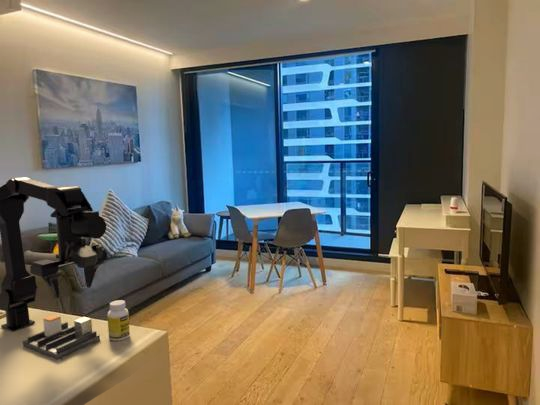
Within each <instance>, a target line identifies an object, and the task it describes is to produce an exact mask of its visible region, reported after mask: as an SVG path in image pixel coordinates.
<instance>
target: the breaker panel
mask: <svg viewBox="0 0 540 405" xmlns="http://www.w3.org/2000/svg"><path fill="white" fill-rule="evenodd" d="M73 324H74V325H73V326H72V325H69V323H68V321H65V322H63V323H62V322H61V326H62V331H60V332H58V333H55V334H53V335H51V336H48V337H47V336H45V332H44V330H43V331H40V332H37V333H35V334H32V335H30V336H28V337H27V339H25V340H22V348H26V349H27V350H30V351H32V352H36V353H38V354H41V355H43V356H45V357H49V358H51V359H52V360H53V359H54V360H55V361H60V360H62V359H64V358H66V357H68V356H70V355H72V354H74V353H76V352H79V351H81V350H84V349H86V348H88V347H89V346H91V345H93V344H96V343H98V342H99V341H101V338H100V334H97V331H96V330H94V331H93V324H92V318H90V317H86V316H83V317H80V318H77V319H75V320H74V321H73Z"/></svg>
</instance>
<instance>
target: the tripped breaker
mask: <svg viewBox="0 0 540 405" xmlns="http://www.w3.org/2000/svg"><path fill="white" fill-rule="evenodd" d="M42 320H43V329H44V330H43V331H44V332H45V336H47V337H48V336H51V335H53V334H55V333H58V332H60V331H62V326H61V324H62V317H61V316H60V315H56V314H50V315H48V316H46V317H44V318H42Z"/></svg>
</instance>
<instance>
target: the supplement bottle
mask: <svg viewBox="0 0 540 405" xmlns="http://www.w3.org/2000/svg"><path fill="white" fill-rule="evenodd" d="M126 306H127V305H126V301H125V300H123V299H119V300H114V301H111V302H109V311H108V312H107V330H108V331H107V334H108V339H109V340H110V341H116V342H117V341H123V340H126V339H127V338H129V337H130V335H131V333H130V332H131V331H130V314H129V310H128V308H126Z"/></svg>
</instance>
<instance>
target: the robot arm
mask: <svg viewBox="0 0 540 405" xmlns="http://www.w3.org/2000/svg"><path fill="white" fill-rule="evenodd" d="M29 198H34V199H37V200H41V201H44V202H46V205H47V206H48V207H50V208H51V209H53V210H54V211H53V212H51V214H50V218H54V219H55V223H56V234H57V235H56V236H57V238H54V243H55V244H57V249H58V250H57V252H58V253H56V254H55V259H58V260H52V259H51V260H50V259H46V258H45V259H41V260H36V261H33V262H32V263H31V265H30V267H29V270H30V272H29V271H28V270H27V266H26V260H25V253H24V252H25V251H24V244H23V239H22V232H21V225H20V221H21V219H22V217H23V214H24V212H25V203H27V201H28V200H29ZM106 229H107V222H106V221H105V219H104V217H102V216H100V212H99V210H93V208H92V205H91V204H90V202H89V200H88V198H87V197H86V195H85V194H84V192H83V190H82V188H81V187H79V186H78V185H57V186H56V185H52V184H50V183H45V182H42V181H39V180H34V179H31V178H29V177H24V176H23V177H12V178H11V179H8V180H7V181H6V183H5V184H3V185H1V186H0V240H1V248H2V254H3V260H4V267H5V275H4V278H3V280H2V282H1V284H0V286H1V288H0V289H1V290H0V291H1V293H0V311H3V312H5V320H6V323H5V324H2V325H1V328H3V329H6V330H8V331H12V332H15V331H18V330H20V329H23V328H26V327H29V326H31V325H34V324H36V321H35V320H33V319H30V313H29V312H30V311H29V304H31V303H34V302H35V301H36V295H37V289H38V286H37V285H38V284H37V278H36V276H37V277H40V278H42V280H43V282H45V283H46V285H47V287H48V288H49V290H50V291H51V293H52V295H53V296H54V298H55V299H59V297H60V289H59V277H60V275H61V274H60V273H58V272H59V268H63V267H67V266H70V265H71V266H72V265H74V264H75V265H76V266H77V267H78V268H80V269H83V273H84V281H85V285H86V287H87V288H91V286H92V284H93V280H94V278H95V275H96V272H97V269H98V268H99V267H100V266H101V265H103V264H104V263H105V261H107V260H109V255H108V254H109V253H108V251H107V250H106V249H104V248H103V245H101V244H100V243H96V244H93V245H88V244H87V240H86V238H89V239H95V240H96V239H100V238H102V237H103V236H104V235H105V233H106V231H107V230H106Z"/></svg>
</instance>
